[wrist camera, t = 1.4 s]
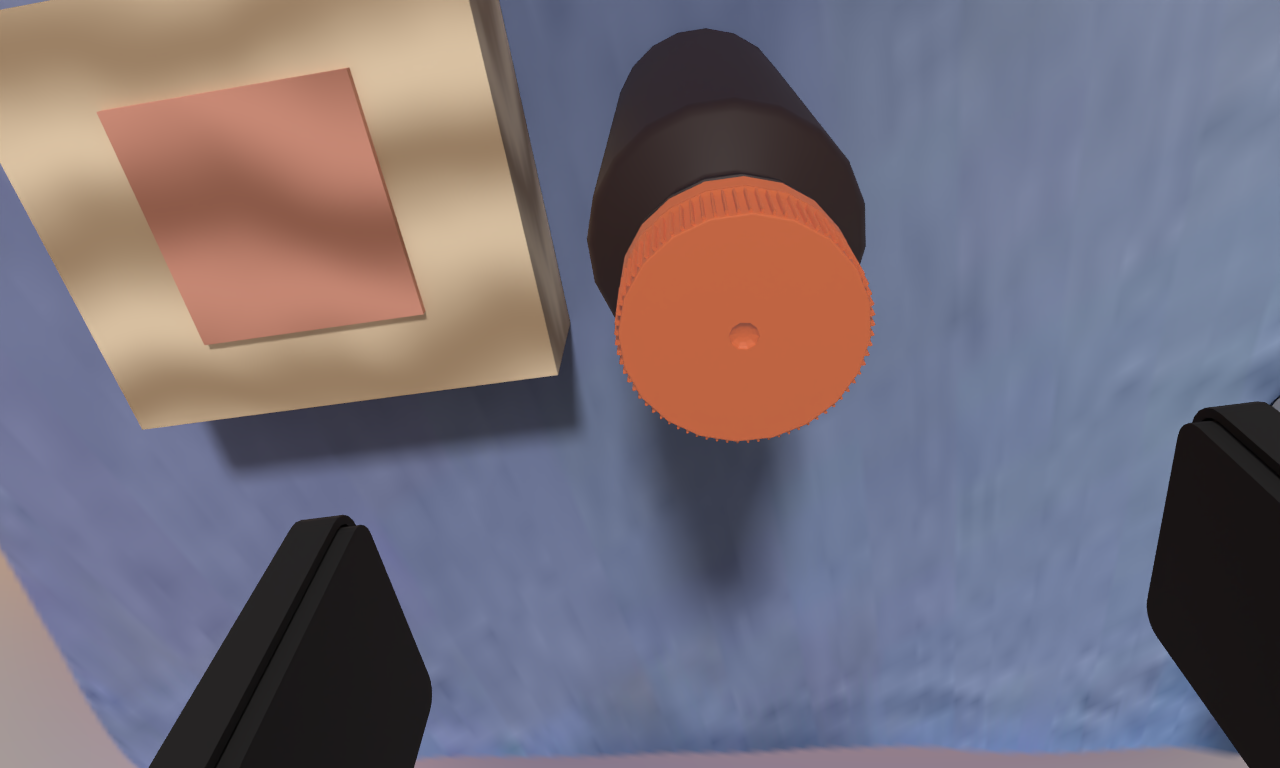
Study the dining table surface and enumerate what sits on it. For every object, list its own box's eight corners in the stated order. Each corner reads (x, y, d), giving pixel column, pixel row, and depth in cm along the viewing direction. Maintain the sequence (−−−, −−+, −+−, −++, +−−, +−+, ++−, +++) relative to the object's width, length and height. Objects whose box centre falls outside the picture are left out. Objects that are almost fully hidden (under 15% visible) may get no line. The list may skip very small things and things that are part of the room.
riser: (570, 322, 37) (556, 378, 33) (200, 373, 39) (138, 433, 35) (482, -76, 30) (448, -76, 25) (28, 10, 32) (-81, 25, 27)
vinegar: (727, -13, 31) (811, 69, 13) (818, 139, 33) (989, 376, 16) (582, 97, 33) (489, 294, 15) (678, 232, 35) (694, 533, 18)
